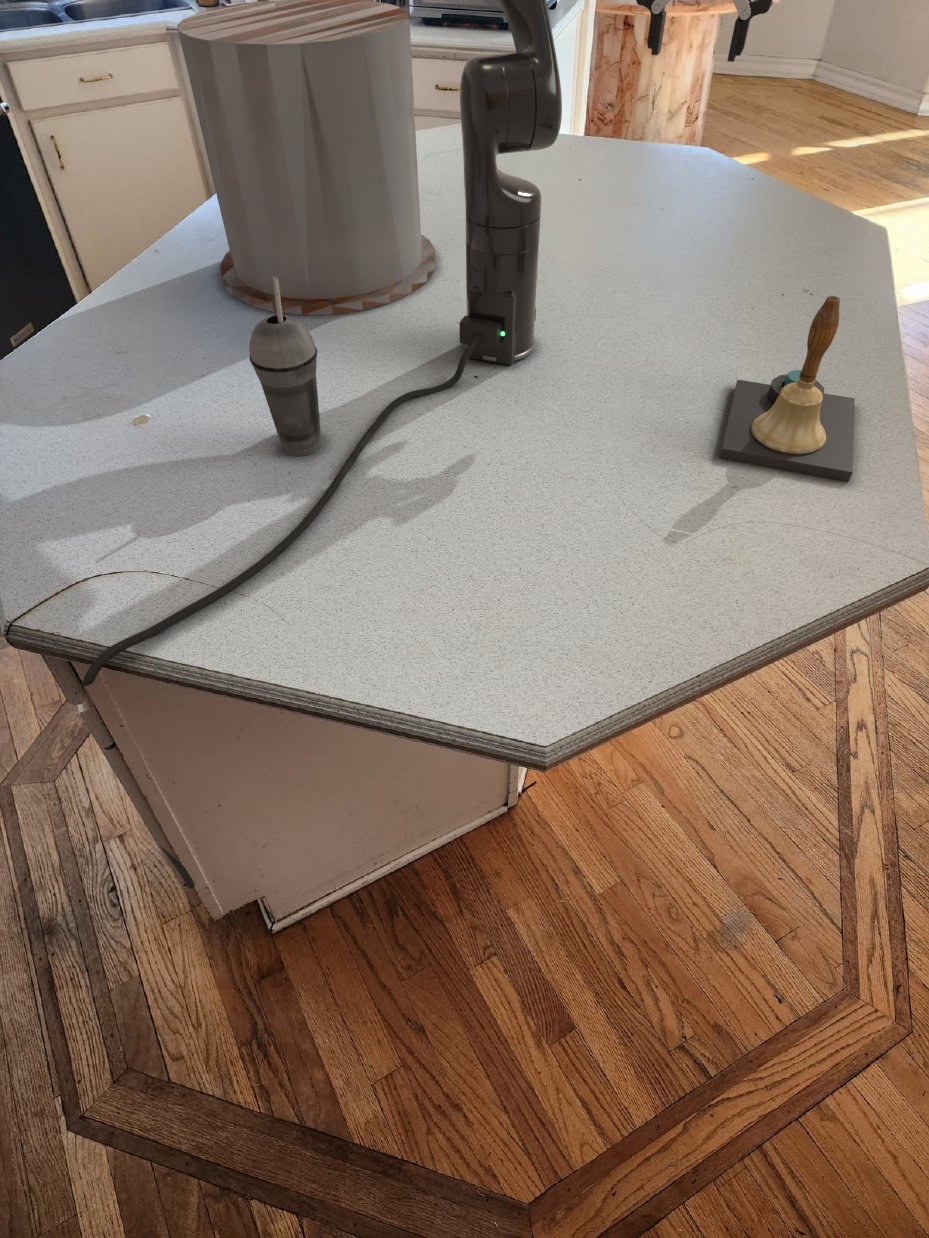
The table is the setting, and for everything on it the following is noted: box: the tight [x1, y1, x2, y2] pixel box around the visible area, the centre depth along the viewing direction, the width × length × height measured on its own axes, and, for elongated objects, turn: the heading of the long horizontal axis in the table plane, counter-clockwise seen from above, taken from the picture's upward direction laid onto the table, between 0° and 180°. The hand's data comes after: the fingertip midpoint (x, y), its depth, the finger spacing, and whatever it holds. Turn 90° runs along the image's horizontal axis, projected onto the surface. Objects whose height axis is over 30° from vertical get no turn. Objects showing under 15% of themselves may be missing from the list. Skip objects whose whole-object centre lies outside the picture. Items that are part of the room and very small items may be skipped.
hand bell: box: [751, 295, 841, 454], centre depth 82 cm, size 8×8×16 cm
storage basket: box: [177, 0, 437, 316], centre depth 113 cm, size 35×35×32 cm
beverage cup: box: [249, 277, 322, 457], centre depth 83 cm, size 7×7×20 cm
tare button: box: [783, 369, 802, 387], centre depth 91 cm, size 3×3×2 cm
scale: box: [718, 373, 856, 483], centre depth 89 cm, size 16×14×3 cm
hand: (693, 57), depth 86 cm, fingers open, 8 cm apart
